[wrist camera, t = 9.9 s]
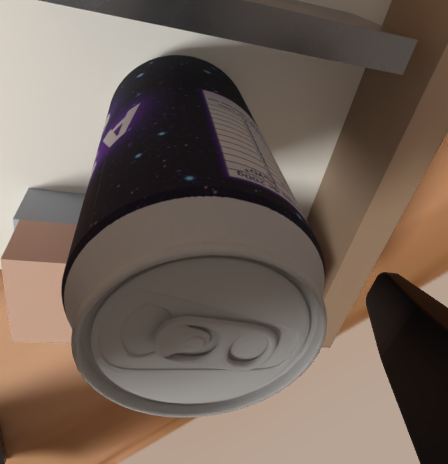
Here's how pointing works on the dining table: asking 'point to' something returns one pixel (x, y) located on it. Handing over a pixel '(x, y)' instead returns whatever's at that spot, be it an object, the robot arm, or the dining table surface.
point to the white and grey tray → (259, 104)
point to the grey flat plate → (272, 27)
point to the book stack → (39, 265)
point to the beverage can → (190, 253)
